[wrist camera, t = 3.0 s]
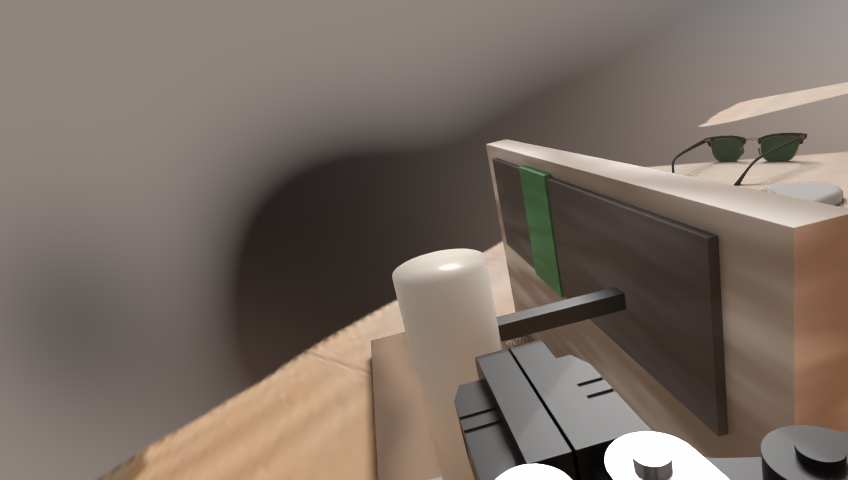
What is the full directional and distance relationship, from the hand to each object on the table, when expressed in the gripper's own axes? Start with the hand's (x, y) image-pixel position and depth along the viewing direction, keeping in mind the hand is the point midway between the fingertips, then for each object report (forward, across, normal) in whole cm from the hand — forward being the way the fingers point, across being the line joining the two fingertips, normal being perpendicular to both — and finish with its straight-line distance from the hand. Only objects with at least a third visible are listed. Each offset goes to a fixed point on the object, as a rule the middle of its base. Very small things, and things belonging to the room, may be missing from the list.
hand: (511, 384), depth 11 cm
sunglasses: (+69, -58, +18) cm, 92 cm away
